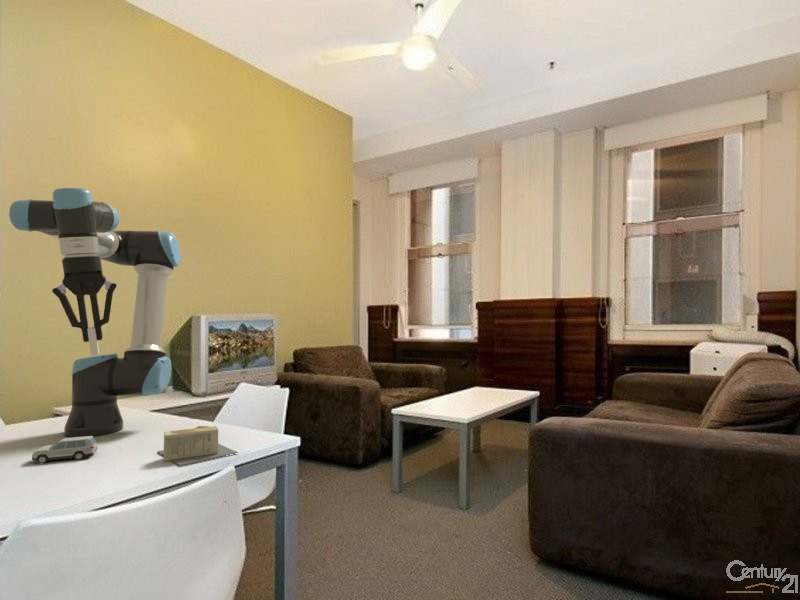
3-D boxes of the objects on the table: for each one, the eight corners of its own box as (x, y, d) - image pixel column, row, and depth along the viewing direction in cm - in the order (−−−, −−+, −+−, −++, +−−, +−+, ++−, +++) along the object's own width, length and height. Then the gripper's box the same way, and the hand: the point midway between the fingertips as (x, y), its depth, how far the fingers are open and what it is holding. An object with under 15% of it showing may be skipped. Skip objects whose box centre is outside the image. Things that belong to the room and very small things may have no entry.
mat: (157, 452, 119) (157, 451, 119) (211, 442, 129) (211, 440, 129) (180, 466, 108) (180, 465, 108) (237, 453, 118) (237, 452, 118)
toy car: (38, 459, 116) (38, 438, 116) (98, 453, 120) (98, 433, 120) (29, 466, 110) (29, 444, 110) (92, 459, 115) (92, 439, 115)
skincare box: (163, 456, 115) (216, 450, 121) (163, 461, 111) (218, 455, 117) (164, 429, 115) (216, 425, 121) (164, 434, 111) (219, 429, 117)
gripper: (43, 257, 103) (60, 362, 106) (112, 254, 109) (126, 352, 112) (49, 258, 109) (64, 356, 112) (114, 254, 116) (126, 347, 118)
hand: (95, 354), depth 112 cm, fingers closed
